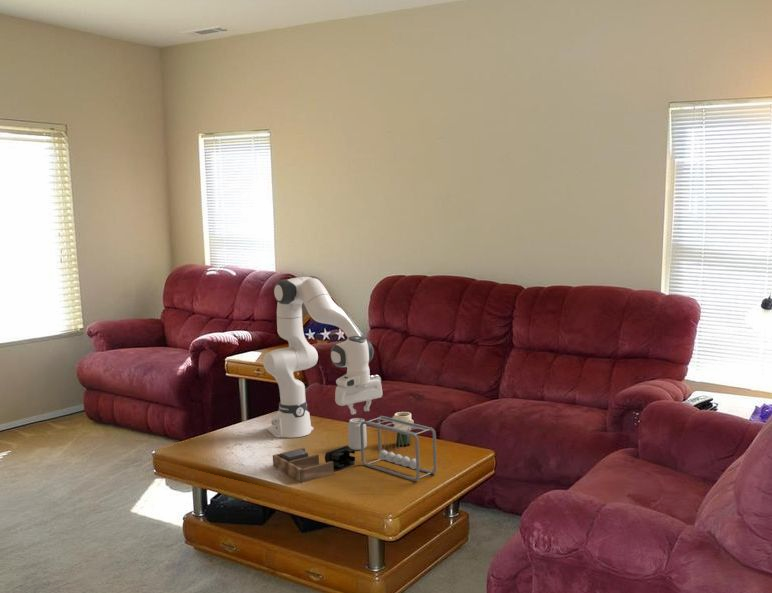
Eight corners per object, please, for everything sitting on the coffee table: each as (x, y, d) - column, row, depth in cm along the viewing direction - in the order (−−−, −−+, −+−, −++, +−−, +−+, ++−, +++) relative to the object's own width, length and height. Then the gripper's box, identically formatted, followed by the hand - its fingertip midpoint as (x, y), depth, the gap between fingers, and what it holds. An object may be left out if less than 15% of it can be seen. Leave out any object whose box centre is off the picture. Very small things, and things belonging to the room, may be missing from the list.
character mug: (419, 444, 312) (418, 413, 311) (409, 448, 307) (408, 418, 305) (398, 439, 319) (397, 410, 318) (388, 444, 314) (387, 414, 312)
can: (364, 451, 306) (363, 422, 305) (347, 450, 308) (345, 422, 306) (368, 445, 314) (367, 417, 312) (351, 444, 315) (350, 417, 314)
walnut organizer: (273, 466, 292) (272, 455, 291) (304, 458, 300) (303, 447, 299) (301, 482, 273) (301, 470, 273) (333, 473, 281) (333, 462, 281)
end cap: (343, 460, 296) (342, 443, 295) (356, 464, 291) (355, 447, 290) (324, 467, 289) (324, 450, 288) (337, 471, 284) (336, 454, 283)
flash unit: (282, 467, 291) (282, 453, 290) (302, 462, 296) (301, 448, 295) (290, 471, 286) (289, 457, 285) (309, 466, 291) (309, 452, 290)
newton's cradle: (437, 475, 276) (436, 428, 274) (418, 483, 269) (416, 435, 267) (380, 458, 297) (378, 414, 295) (361, 465, 290) (359, 420, 288)
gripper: (375, 372, 300) (377, 406, 302) (332, 380, 289) (333, 415, 290) (385, 375, 295) (386, 409, 297) (341, 383, 284) (342, 419, 285)
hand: (360, 412), depth 293 cm, fingers open, 5 cm apart
